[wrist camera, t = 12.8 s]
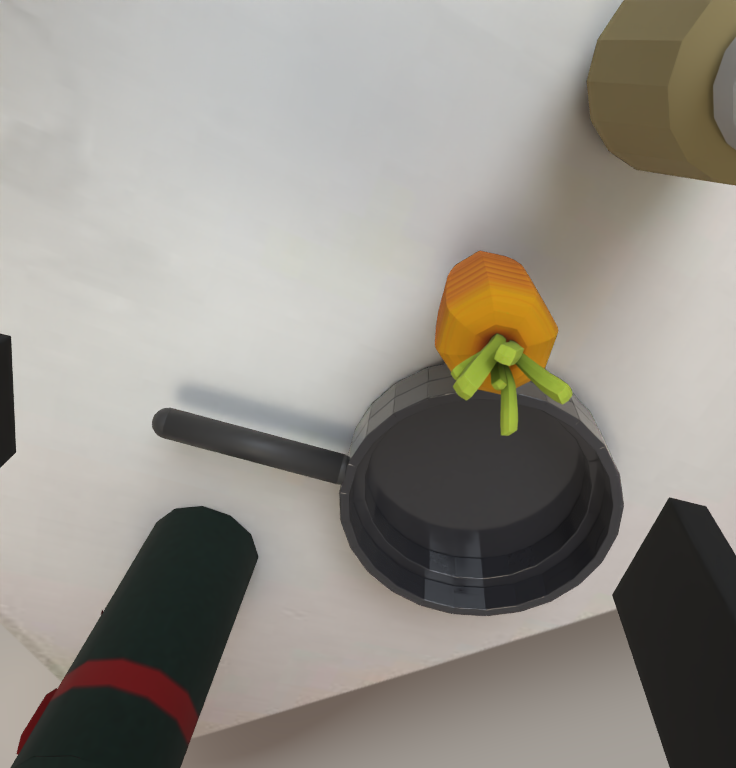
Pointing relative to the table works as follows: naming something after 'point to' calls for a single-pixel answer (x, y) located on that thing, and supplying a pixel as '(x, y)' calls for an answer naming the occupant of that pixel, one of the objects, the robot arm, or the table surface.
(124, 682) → the wine bottle
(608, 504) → the pan
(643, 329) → the table surface
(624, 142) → the squeeze bottle
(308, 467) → the pan handle
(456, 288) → the carrot
